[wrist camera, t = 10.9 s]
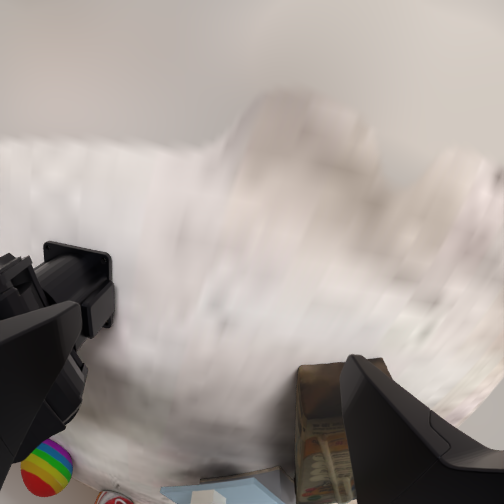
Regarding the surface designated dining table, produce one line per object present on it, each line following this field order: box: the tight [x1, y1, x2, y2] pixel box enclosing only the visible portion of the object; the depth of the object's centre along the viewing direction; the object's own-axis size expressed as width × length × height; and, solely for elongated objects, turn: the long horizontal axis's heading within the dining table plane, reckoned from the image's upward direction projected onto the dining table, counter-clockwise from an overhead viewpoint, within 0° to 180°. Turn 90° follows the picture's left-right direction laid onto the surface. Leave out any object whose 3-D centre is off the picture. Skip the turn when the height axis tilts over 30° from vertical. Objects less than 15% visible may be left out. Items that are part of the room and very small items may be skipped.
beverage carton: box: [294, 358, 393, 504], centre depth 24 cm, size 8×19×7 cm, turn 4°
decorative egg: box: [21, 439, 73, 497], centre depth 27 cm, size 8×8×10 cm
